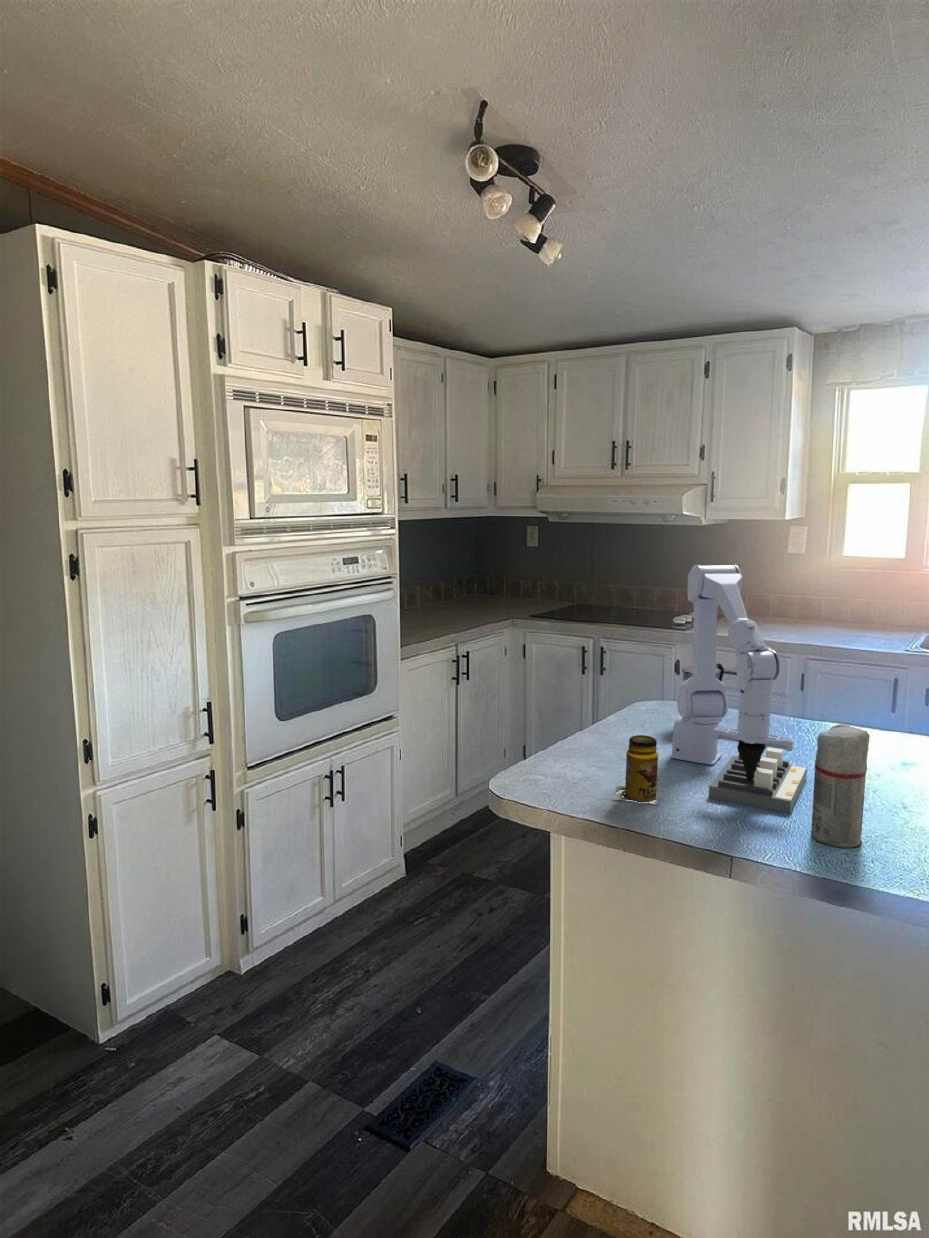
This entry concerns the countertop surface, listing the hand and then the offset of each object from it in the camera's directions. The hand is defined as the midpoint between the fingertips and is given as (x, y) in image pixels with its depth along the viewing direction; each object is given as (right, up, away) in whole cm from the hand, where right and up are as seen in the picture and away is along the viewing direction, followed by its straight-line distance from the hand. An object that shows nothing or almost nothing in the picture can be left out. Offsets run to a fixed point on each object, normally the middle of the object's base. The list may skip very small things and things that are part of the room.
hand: (750, 779), depth 153 cm
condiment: (-22, -4, +2) cm, 22 cm away
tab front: (+2, -1, -1) cm, 3 cm away
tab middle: (+5, 0, +5) cm, 7 cm away
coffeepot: (+5, +4, +48) cm, 49 cm away
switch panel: (+4, -3, +6) cm, 8 cm away
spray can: (+9, -7, -17) cm, 20 cm away
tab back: (+9, 0, +11) cm, 14 cm away
